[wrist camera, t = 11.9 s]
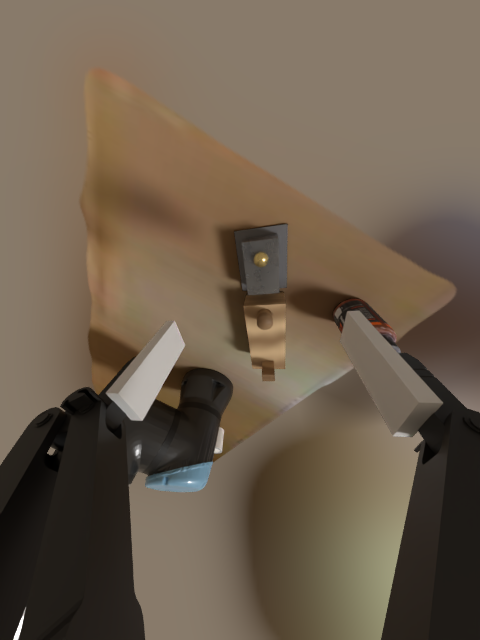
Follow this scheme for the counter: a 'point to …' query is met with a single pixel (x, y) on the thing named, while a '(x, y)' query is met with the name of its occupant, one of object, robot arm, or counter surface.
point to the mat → (282, 235)
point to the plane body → (266, 332)
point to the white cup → (219, 441)
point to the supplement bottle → (370, 315)
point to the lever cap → (261, 264)
